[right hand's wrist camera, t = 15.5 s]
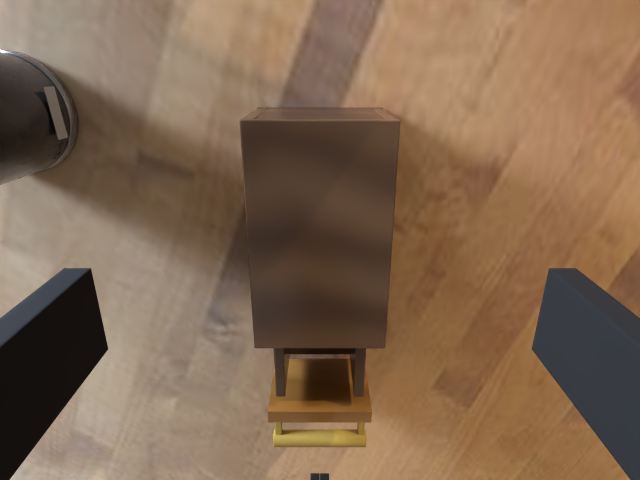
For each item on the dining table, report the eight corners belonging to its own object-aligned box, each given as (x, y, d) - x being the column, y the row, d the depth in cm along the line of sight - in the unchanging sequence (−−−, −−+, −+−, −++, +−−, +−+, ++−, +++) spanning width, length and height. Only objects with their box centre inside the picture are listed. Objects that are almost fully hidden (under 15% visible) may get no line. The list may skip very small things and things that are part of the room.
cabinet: (372, 292, 41) (385, 348, 33) (267, 292, 41) (254, 348, 33) (381, 107, 35) (400, 119, 27) (258, 107, 35) (239, 119, 27)
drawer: (361, 413, 46) (368, 472, 39) (277, 413, 46) (270, 472, 39) (370, 219, 38) (381, 252, 31) (269, 219, 38) (258, 252, 31)
